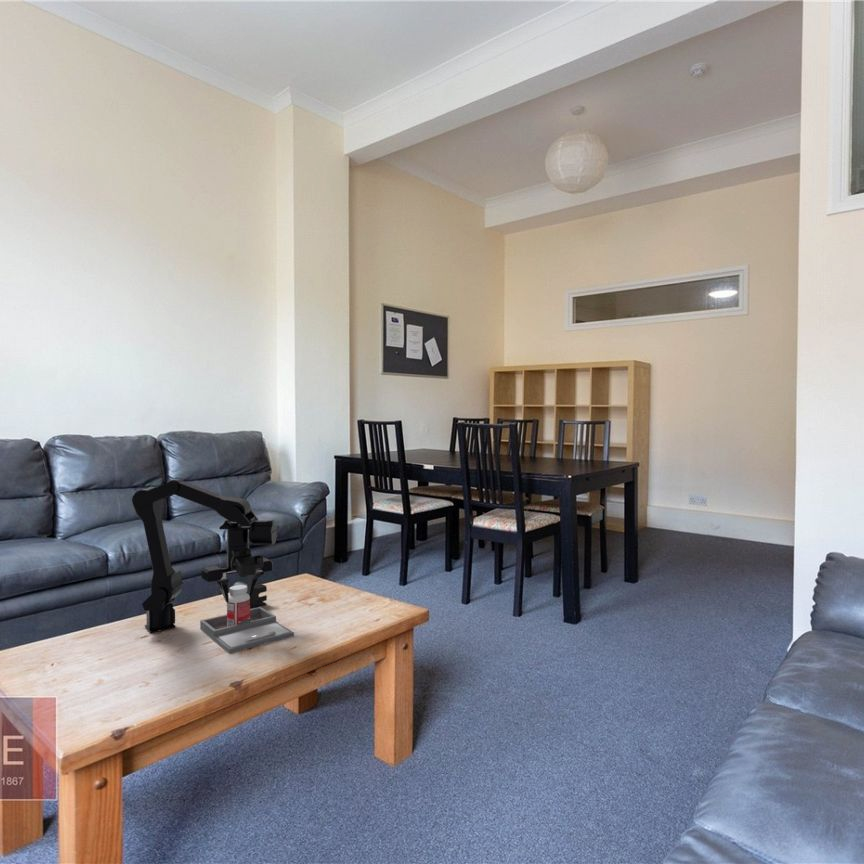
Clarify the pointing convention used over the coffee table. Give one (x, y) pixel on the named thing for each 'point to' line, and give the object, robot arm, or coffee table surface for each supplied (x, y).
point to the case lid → (237, 638)
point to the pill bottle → (238, 605)
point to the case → (209, 623)
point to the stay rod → (260, 636)
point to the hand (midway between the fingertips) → (238, 599)
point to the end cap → (256, 595)
